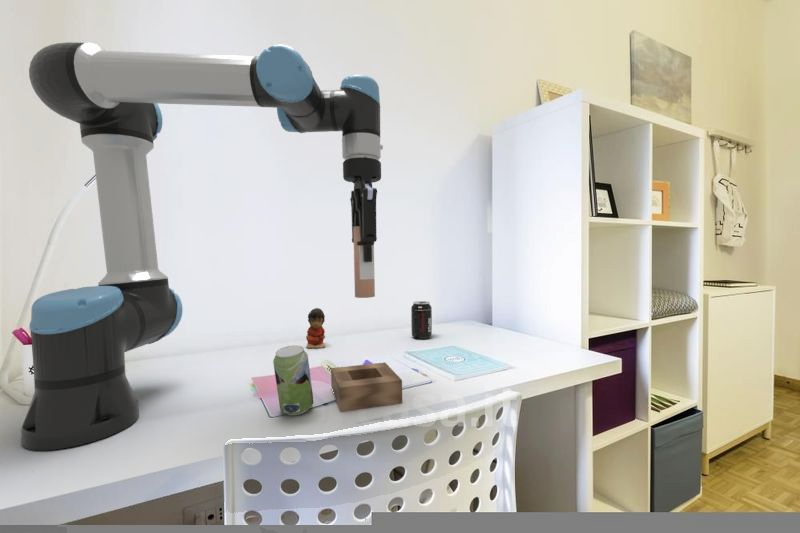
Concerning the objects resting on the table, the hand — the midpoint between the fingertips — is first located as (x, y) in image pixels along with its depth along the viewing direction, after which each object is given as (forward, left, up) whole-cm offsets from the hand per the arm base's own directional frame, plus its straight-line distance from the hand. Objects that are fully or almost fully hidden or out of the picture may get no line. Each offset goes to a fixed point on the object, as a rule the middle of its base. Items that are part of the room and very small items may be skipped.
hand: (364, 278), depth 75 cm
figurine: (-6, +43, -24) cm, 50 cm away
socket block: (0, 0, -24) cm, 24 cm away
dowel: (0, 0, -4) cm, 4 cm away
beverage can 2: (+29, +43, -24) cm, 57 cm away
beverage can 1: (-14, -3, -24) cm, 28 cm away
